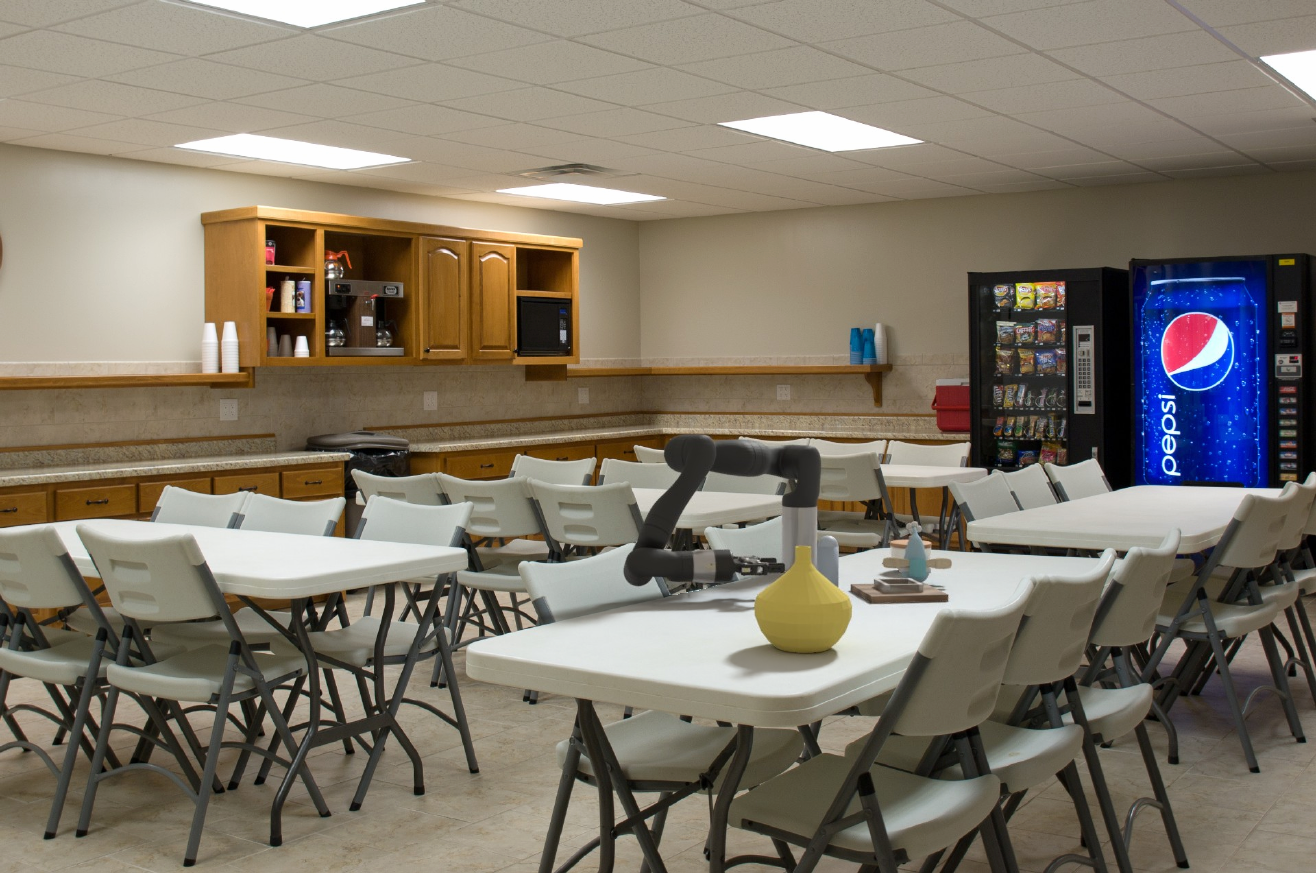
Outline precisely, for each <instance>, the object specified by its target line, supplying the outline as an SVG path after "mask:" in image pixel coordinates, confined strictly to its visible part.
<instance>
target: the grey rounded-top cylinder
mask: <svg viewBox="0 0 1316 873" xmlns="http://www.w3.org/2000/svg"><path fill="white" fill-rule="evenodd" d="M839 548H840V547H839V543H838V541H837V539H836V538H835V537H834V536H832V535H823V536H822V537H821V538H819V540H817V571H819V572H820V573H821V574H822V575H823V576H824V577H826V578H827V579H828V580H829V581H830V582H831V583H833V584H834V585H835V586H836V587H838V588H839V576H840V575H839V568H840V566H839V562H840V561H839V560H840V559H839V558H840V557H839V555H840V554H839V552H840V551H839Z"/></svg>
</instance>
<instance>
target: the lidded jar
mask: <svg viewBox="0 0 1316 873" xmlns="http://www.w3.org/2000/svg"><path fill="white" fill-rule="evenodd" d="M911 536H912V535H909V536H908V539H894V540H892V541H889V547H890V550H889V551H890V557H898V558H904V556H905V550H906V548H907V544H908V541H909V539H910V537H911ZM922 541H923V544H924V548H925V552H926V556H927V558H928V559H931V557H932V556H931V555H932V542H931V541H929V540H928V541H927V540H922ZM896 569H897V570H898V572H899V573H900V568H896Z"/></svg>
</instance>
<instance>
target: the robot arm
mask: <svg viewBox="0 0 1316 873" xmlns="http://www.w3.org/2000/svg"><path fill="white" fill-rule="evenodd" d="M663 457H664V461H665V463H666V465H667V466H668V467H669V468H670V469H671V470H673V471H674V472H676V473H679V475H678V477H677V478H676V480H675V481H674V482H673V484H672V485H671V486H670V487H669V488H668V489H667V490H666V491H664V493H663V494H662V495H661V496H659V498H657V500H656V501H655V502H654V503H653V505H652V506H651V507H650V509H649V511H648V513H647V515H646V517H645V519H644V521H643V523H642V526H641V527H640V530H639V533H638V536H637V539H636V542H635V544H634V546H633V548H632V550H631V551H630V552H629V553H628V554H627V555H626V558H625V562H624V565H623V571H622V572H623V576H624V578H625V580H626V582H627V583H628V584H629V585H631V586H633V587H643V586H645V585H646V584H649V583H650V581H651V580H652V579H653V578H666V579H667V580H668V581H669V582H674V583H700V584H701V583H702V584H706V583H709V584H710V583H711V584H712V583H713V584H714V583H731V582H732V581H733V580H734V574H735V573H736V574H737V573H738V574H739V575H740V576H743V577H745V576H764V577H766V576H768V575H769V574H785V573H786V572H787V571H788V570H789V569H790V568H791V567H792V566H793V564H794V563H795V547H796V546H810V547H811V562H812V564H813V566H814V567H815V568H816V570H817V544H818V501H819V500H818V499H819V497H820V493H821V492H820V491H821V477H822V473H821V472H822V460H821V454H820V451H819V450H818V448H817V447H815V446H813V445H807V444H806V445H804V444H786V445H785V444H784V445H783V444H782V445H773V446H769V445H765V444H764V443H762V442H760V441H756V440H751V439H740V438H739V439H734V438H733V439H719V440H714V439H713V438H712V437H711V436H709V435H707V434H702V433H701V434H698V433H697V434H696V433H695V434H689V433H688V434H679V435H676V436H674V437H672V438H671V439H669V441H668V442H667V443H666V444H665V447H664V450H663ZM710 472H712V473H716V474H721V475H728V476H734V477H744V478H745V477H746V478H753V477H754V478H755V477H761V476H763V475H769V476H774V477H778V478H783V479H786V480H793V481H794V480H795V481H796V486H795V488H794V489H793V490H792V491H790V492H788V493H784V494H782V497H781V562H777V560H778V559H777V558H776V557H760V556H756V555H739V556H737V555H733V551H732V550H731V549H724V548H723V549H698V550H685V551H684V550H681V551H680V550H679V551H678V550H677V551H676V550H675V551H671V550H666V549H665V548H666V547H667V545H668V543H669V541H670V539H671V538H672V534H673V533H674V530H675V528H676V526H677V523H678V521H680V520H679V519H680V517H681V516H682V514H683V512H684V510H685V509H686V507H687V505H688V504H689V502H690V501H691V500H692V498H693V496H694V494H695V493H696V492H697V490H698V489H699V487H700V486H701V484H702V483H703V481H704V480H705V478H706V477H707V475H708V474H709V473H710ZM761 569H762V570H761Z"/></svg>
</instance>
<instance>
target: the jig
mask: <svg viewBox="0 0 1316 873" xmlns="http://www.w3.org/2000/svg"><path fill="white" fill-rule="evenodd" d="M850 591H851V592H853V593H854V594H857V596H860V597H861V598H863V599H864V600H866V601H868V602H870V604H882V603H884V604H885V603H886V604H887V603H920V602H921V603H924V602H926V603H928V602H930V603H931V602H933V603H934V602H949V594H948V593H946V592H943V591H942V590H939V589H938V588H936V587H933V586H931V585H930V584H927V583H924V582H921V583H920V582H918V581H916V580H913V579H911V578H903V577H902V578H899V577H897V578H873V583H851V584H850Z"/></svg>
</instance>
